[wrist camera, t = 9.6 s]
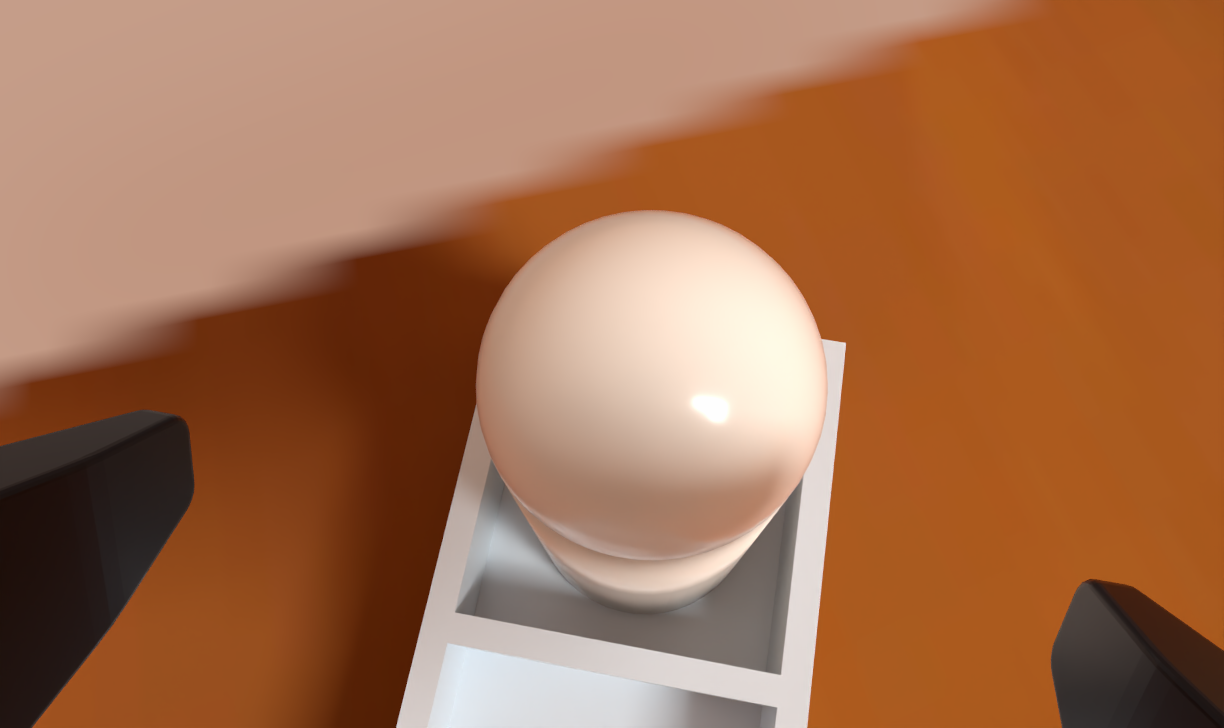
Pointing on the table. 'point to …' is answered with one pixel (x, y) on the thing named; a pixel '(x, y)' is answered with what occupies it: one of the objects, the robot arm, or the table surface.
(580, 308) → the cream tall rounded piece
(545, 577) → the white compartment tray
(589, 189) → the table surface
